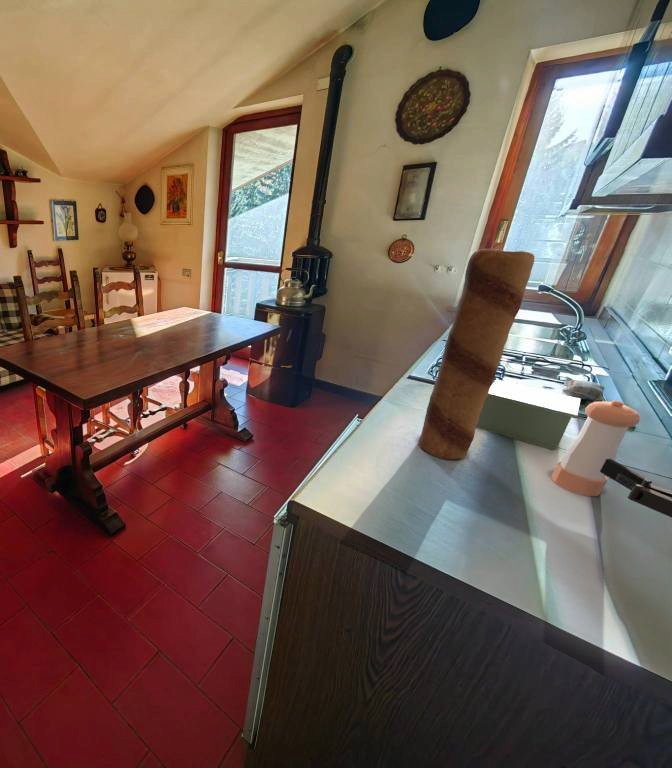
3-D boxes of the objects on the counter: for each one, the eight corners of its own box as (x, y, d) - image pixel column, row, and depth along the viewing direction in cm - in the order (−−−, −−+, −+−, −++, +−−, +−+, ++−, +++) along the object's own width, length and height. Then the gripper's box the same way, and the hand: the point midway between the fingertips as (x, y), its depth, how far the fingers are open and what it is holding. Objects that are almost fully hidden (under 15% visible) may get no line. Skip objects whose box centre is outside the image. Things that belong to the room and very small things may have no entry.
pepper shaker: (599, 485, 80) (645, 402, 73) (600, 501, 76) (649, 414, 68) (551, 470, 85) (590, 390, 78) (549, 484, 80) (590, 400, 73)
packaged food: (559, 397, 122) (566, 383, 120) (561, 387, 129) (568, 374, 127) (599, 407, 116) (607, 392, 114) (599, 396, 123) (606, 382, 121)
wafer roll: (408, 434, 99) (464, 247, 81) (456, 441, 96) (525, 249, 78) (420, 455, 90) (486, 250, 72) (473, 464, 87) (556, 252, 69)
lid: (579, 401, 97) (580, 398, 97) (576, 418, 88) (577, 415, 88) (495, 382, 109) (496, 379, 108) (484, 395, 100) (485, 392, 99)
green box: (560, 431, 101) (575, 400, 98) (555, 451, 92) (571, 417, 89) (484, 411, 112) (495, 382, 109) (473, 426, 103) (484, 395, 100)
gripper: (709, 581, 51) (562, 481, 70) (915, 593, 50) (708, 488, 69) (743, 536, 48) (581, 445, 67) (963, 548, 47) (733, 452, 66)
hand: (645, 467), depth 68 cm, fingers open, 13 cm apart
